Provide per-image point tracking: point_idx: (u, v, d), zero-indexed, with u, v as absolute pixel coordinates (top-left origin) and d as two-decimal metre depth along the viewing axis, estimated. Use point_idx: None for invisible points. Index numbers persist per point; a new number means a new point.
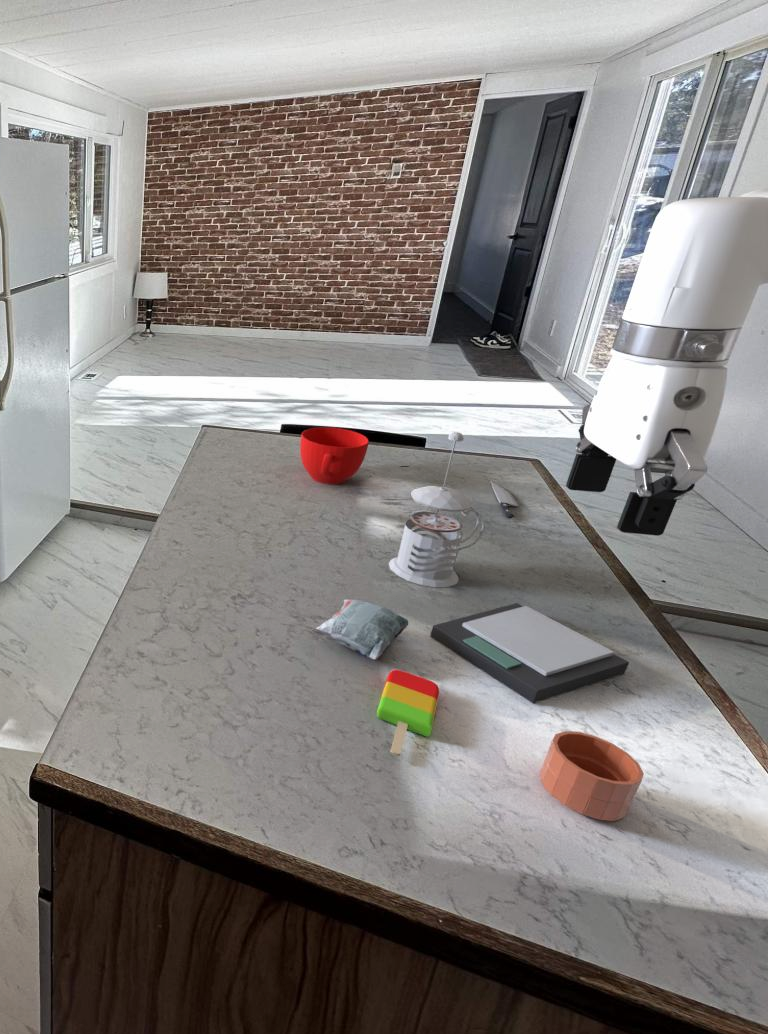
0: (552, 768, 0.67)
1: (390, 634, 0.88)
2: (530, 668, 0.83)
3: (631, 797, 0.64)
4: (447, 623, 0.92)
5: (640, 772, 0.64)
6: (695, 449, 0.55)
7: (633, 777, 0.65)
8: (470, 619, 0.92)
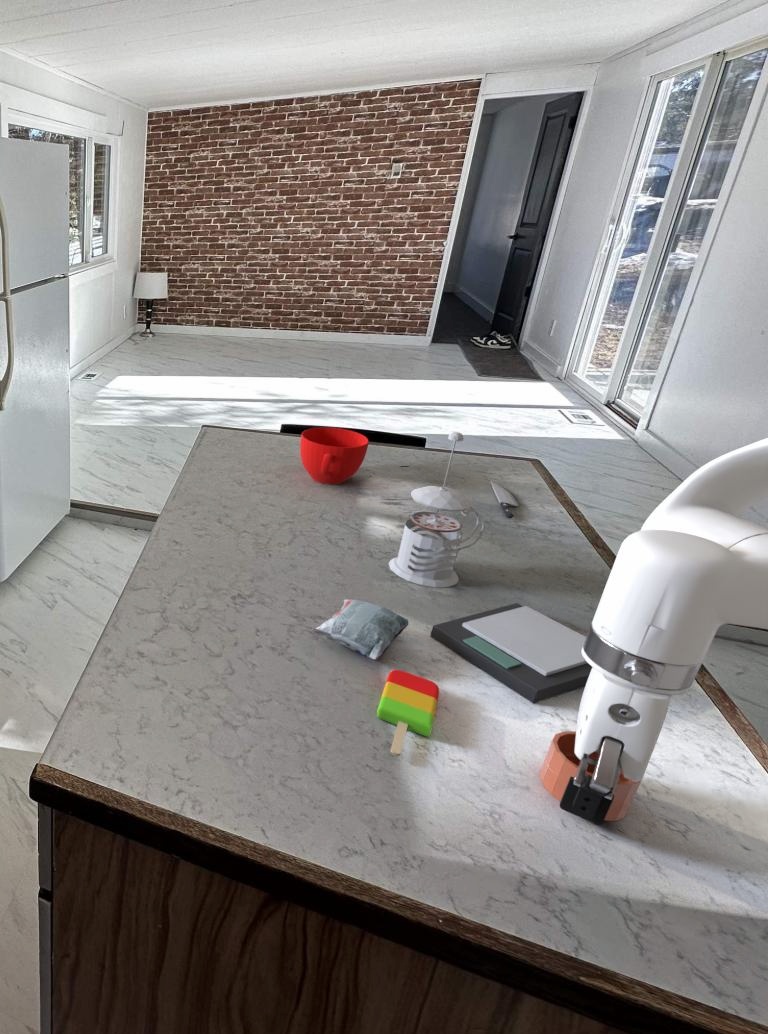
0: (552, 768, 0.67)
1: (390, 634, 0.88)
2: (530, 668, 0.83)
3: (631, 797, 0.64)
4: (447, 623, 0.92)
5: None
6: (613, 766, 0.60)
7: None
8: (470, 619, 0.92)
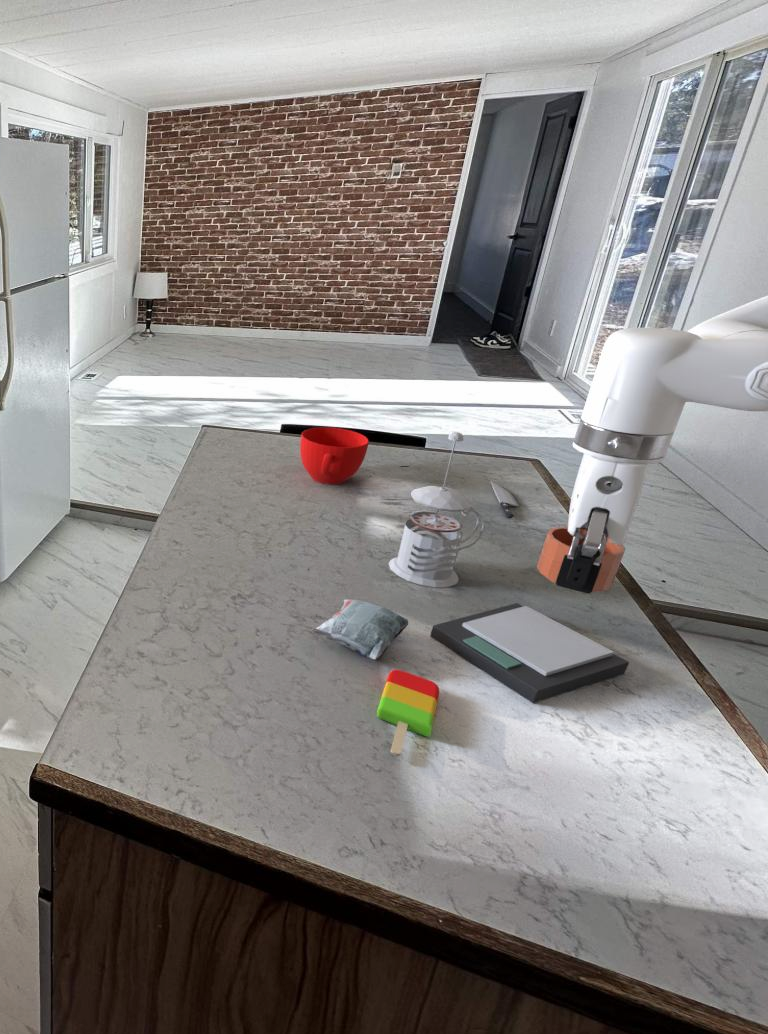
0: (548, 554, 0.78)
1: (390, 634, 0.88)
2: (530, 668, 0.83)
3: (615, 568, 0.75)
4: (447, 623, 0.92)
5: (622, 547, 0.75)
6: (601, 529, 0.70)
7: None
8: (470, 619, 0.92)
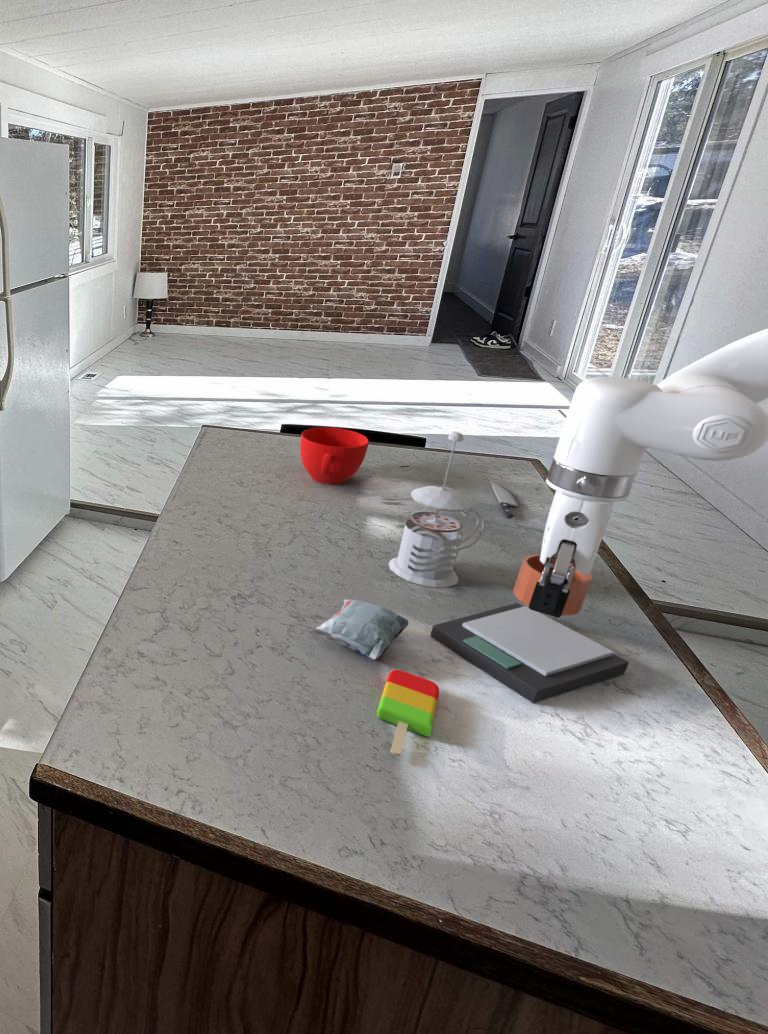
0: (522, 580, 0.85)
1: (390, 634, 0.88)
2: (530, 668, 0.83)
3: (583, 594, 0.81)
4: (447, 623, 0.92)
5: (590, 576, 0.81)
6: (568, 560, 0.77)
7: None
8: (470, 619, 0.92)
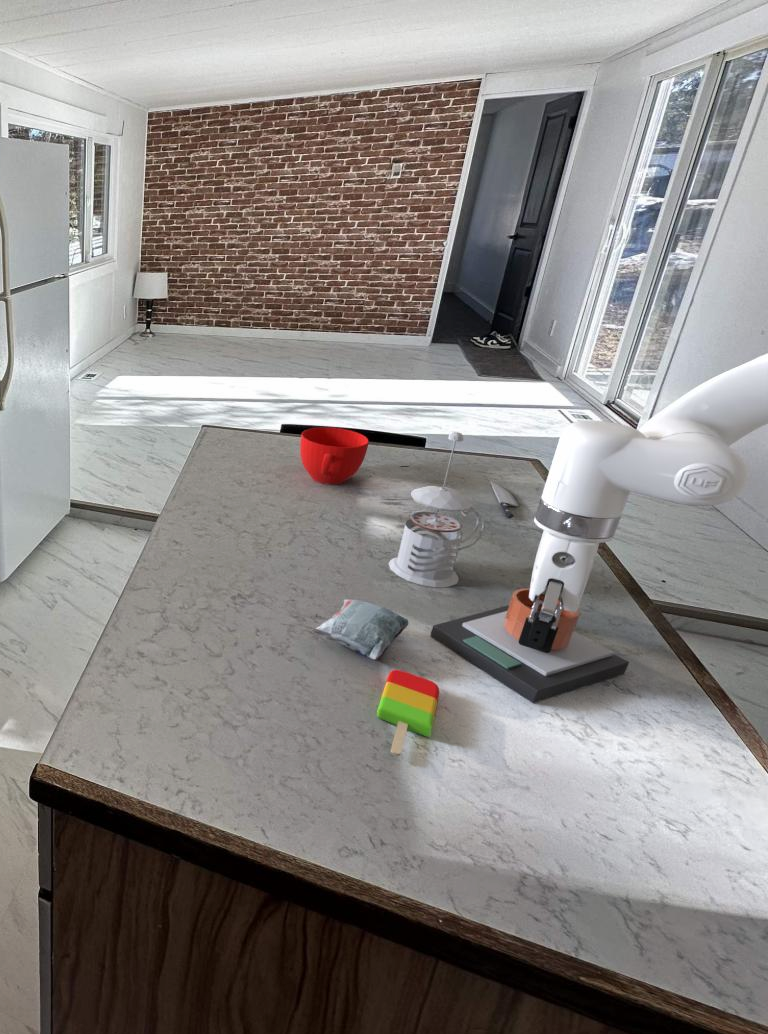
0: (512, 614, 0.87)
1: (390, 634, 0.88)
2: (530, 668, 0.83)
3: (571, 629, 0.83)
4: (447, 623, 0.92)
5: (578, 611, 0.83)
6: (556, 598, 0.79)
7: None
8: (470, 619, 0.92)
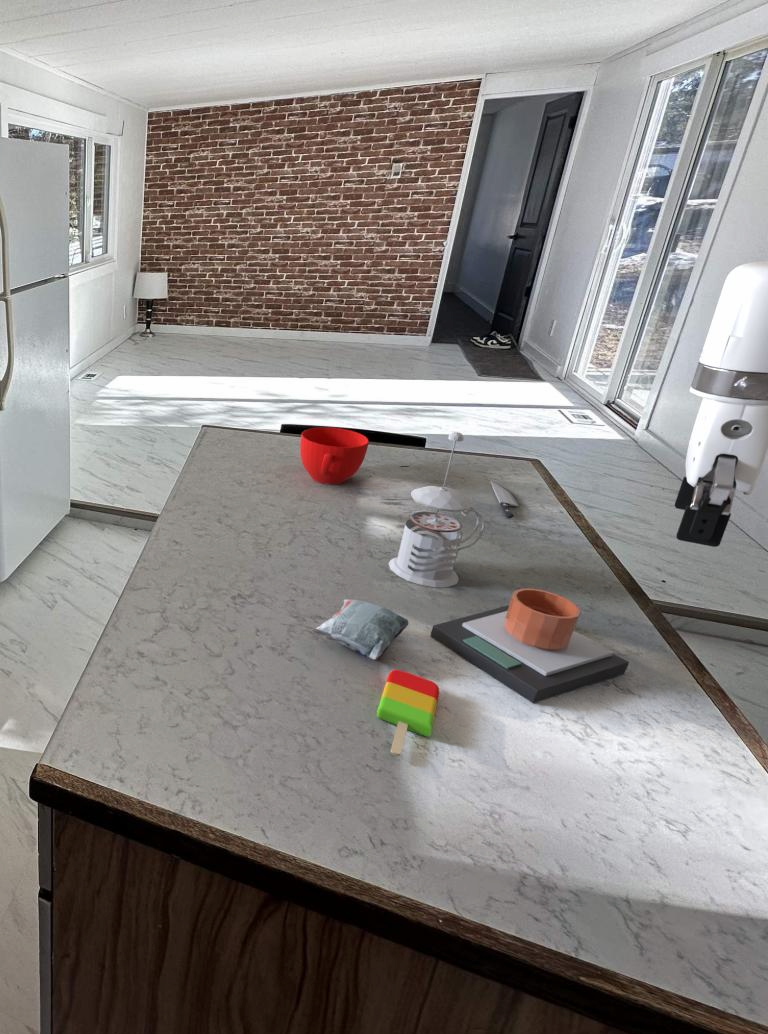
0: (512, 614, 0.87)
1: (390, 634, 0.88)
2: (530, 668, 0.83)
3: (571, 629, 0.83)
4: (447, 623, 0.92)
5: (578, 611, 0.83)
6: (731, 471, 0.66)
7: None
8: (470, 619, 0.92)
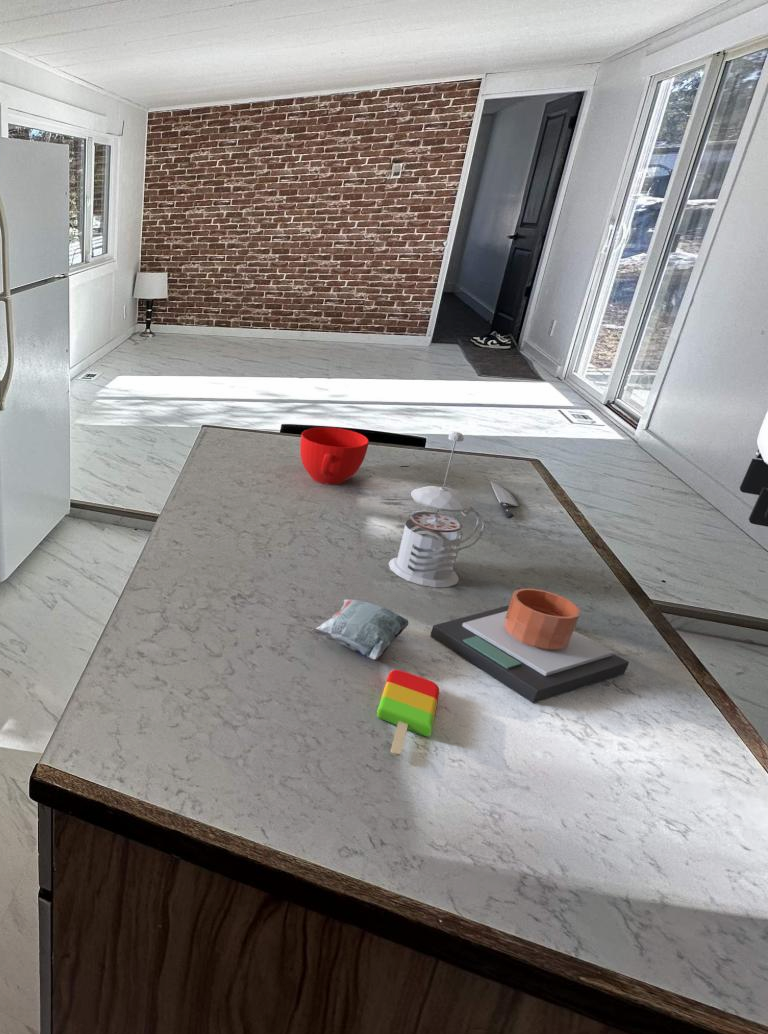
0: (512, 614, 0.87)
1: (390, 634, 0.88)
2: (530, 668, 0.83)
3: (571, 629, 0.83)
4: (447, 623, 0.92)
5: (578, 611, 0.83)
6: None
7: None
8: (470, 619, 0.92)
